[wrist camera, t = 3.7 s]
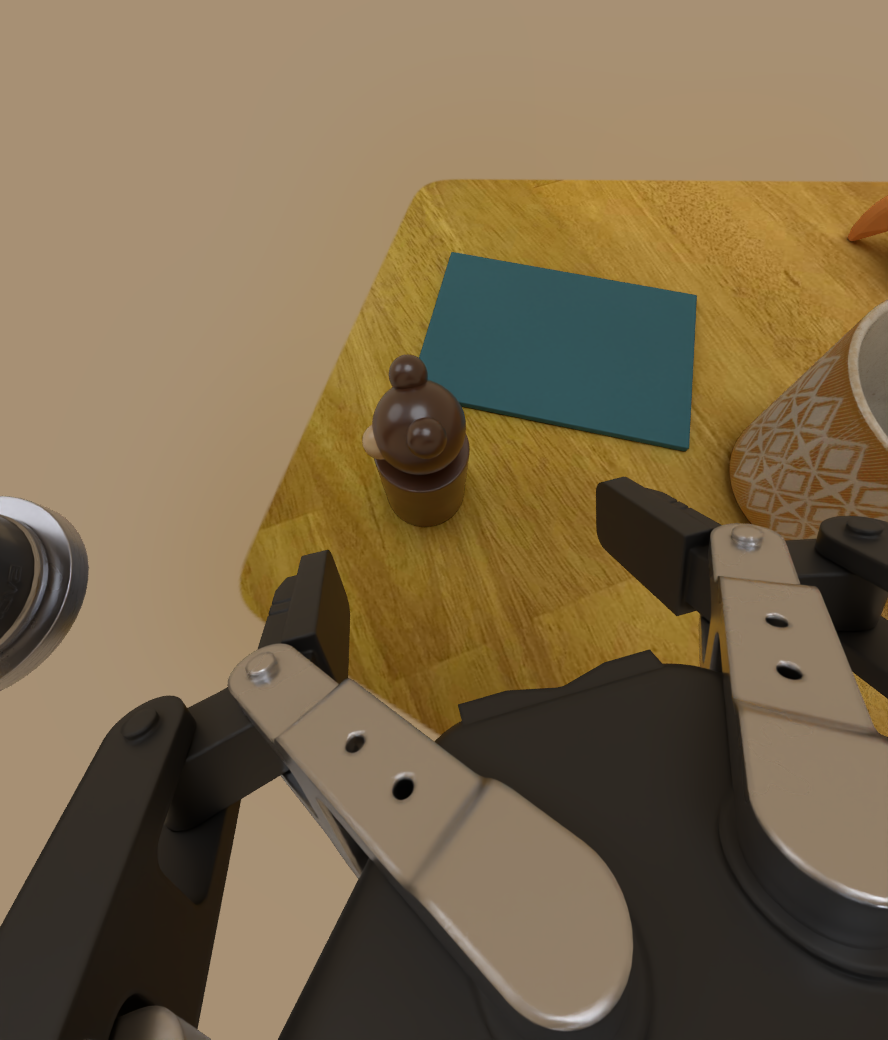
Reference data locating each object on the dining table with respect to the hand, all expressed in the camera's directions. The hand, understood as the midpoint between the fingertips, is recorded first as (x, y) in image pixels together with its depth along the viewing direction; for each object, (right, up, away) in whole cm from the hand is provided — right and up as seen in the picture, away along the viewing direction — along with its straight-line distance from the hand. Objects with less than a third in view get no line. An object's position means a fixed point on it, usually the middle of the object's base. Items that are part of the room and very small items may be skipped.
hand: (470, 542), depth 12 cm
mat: (+8, +14, +20) cm, 25 cm away
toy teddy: (-2, +3, +16) cm, 16 cm away
